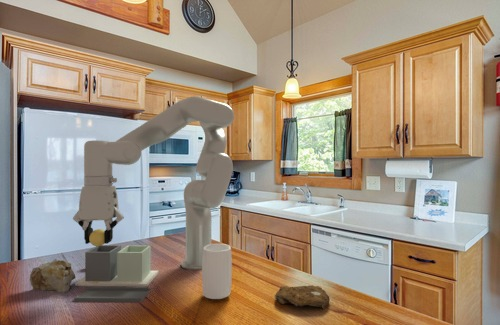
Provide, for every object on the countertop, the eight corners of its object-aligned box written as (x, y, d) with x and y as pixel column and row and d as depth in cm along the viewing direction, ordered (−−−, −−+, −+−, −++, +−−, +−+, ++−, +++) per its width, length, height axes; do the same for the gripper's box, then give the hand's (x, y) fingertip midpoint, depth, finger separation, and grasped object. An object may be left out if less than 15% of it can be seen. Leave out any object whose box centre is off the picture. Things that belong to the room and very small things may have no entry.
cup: (198, 293, 86) (199, 245, 86) (226, 288, 90) (226, 242, 90) (206, 306, 78) (206, 253, 78) (235, 300, 82) (236, 249, 82)
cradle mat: (151, 290, 88) (151, 286, 88) (141, 303, 80) (141, 299, 80) (87, 290, 88) (87, 285, 88) (71, 303, 80) (71, 298, 80)
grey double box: (158, 274, 101) (158, 244, 101) (146, 287, 90) (147, 254, 90) (94, 273, 101) (94, 243, 101) (75, 287, 90) (75, 253, 90)
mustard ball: (110, 243, 91) (110, 227, 91) (103, 248, 86) (103, 231, 86) (94, 243, 91) (94, 227, 91) (85, 248, 86) (85, 231, 86)
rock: (84, 281, 91) (72, 252, 90) (67, 293, 85) (54, 262, 84) (54, 289, 94) (42, 261, 93) (36, 302, 88) (23, 271, 87)
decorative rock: (280, 317, 74) (335, 314, 77) (281, 301, 74) (336, 299, 77) (269, 294, 86) (318, 292, 88) (270, 281, 85) (318, 279, 88)
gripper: (131, 181, 92) (132, 239, 92) (76, 181, 92) (77, 239, 92) (122, 182, 85) (122, 246, 85) (62, 182, 84) (62, 246, 84)
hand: (98, 241), depth 88 cm, fingers closed on mustard ball, 4 cm apart
